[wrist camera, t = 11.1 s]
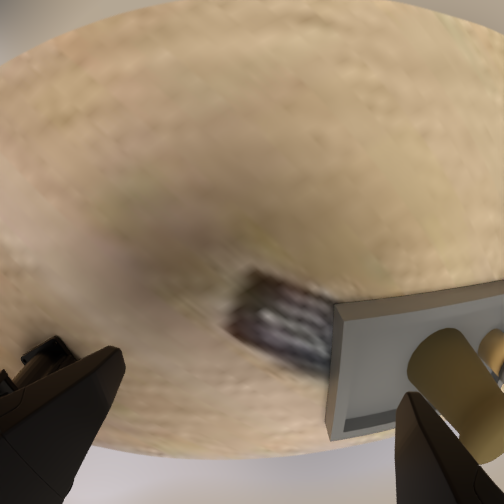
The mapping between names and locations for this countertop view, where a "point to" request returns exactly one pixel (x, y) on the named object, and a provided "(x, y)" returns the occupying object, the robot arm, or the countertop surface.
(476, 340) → the slate tray
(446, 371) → the pepper shaker
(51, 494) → the robot arm
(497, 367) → the amber spice jar
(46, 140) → the countertop surface
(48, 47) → the countertop surface
